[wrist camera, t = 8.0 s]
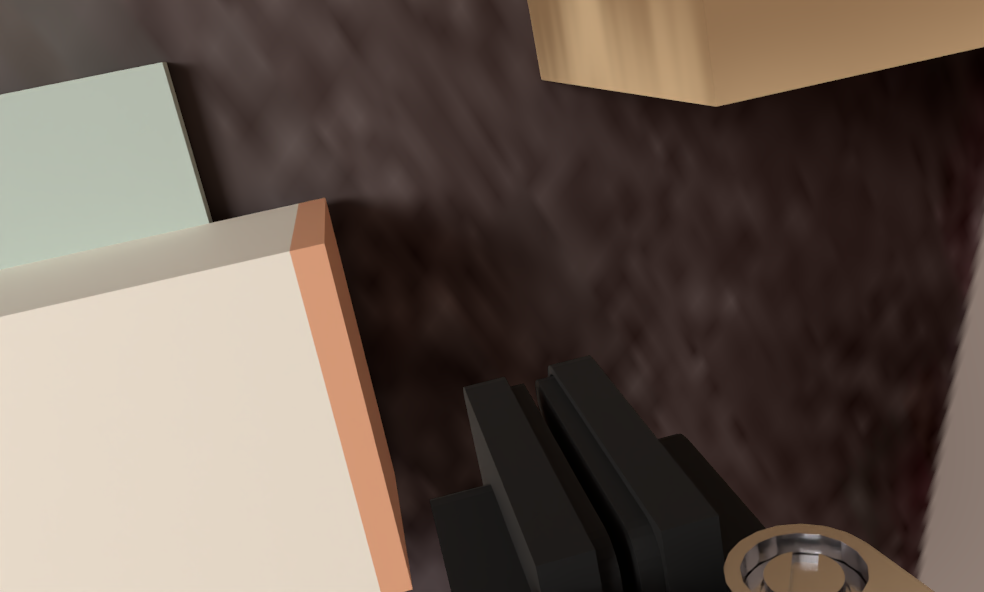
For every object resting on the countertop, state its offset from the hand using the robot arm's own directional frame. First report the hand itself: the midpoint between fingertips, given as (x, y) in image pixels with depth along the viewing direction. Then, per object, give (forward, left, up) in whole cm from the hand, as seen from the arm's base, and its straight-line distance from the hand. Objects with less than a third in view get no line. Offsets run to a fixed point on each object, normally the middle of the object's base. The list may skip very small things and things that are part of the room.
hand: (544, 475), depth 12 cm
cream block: (+1, -2, -8) cm, 8 cm away
